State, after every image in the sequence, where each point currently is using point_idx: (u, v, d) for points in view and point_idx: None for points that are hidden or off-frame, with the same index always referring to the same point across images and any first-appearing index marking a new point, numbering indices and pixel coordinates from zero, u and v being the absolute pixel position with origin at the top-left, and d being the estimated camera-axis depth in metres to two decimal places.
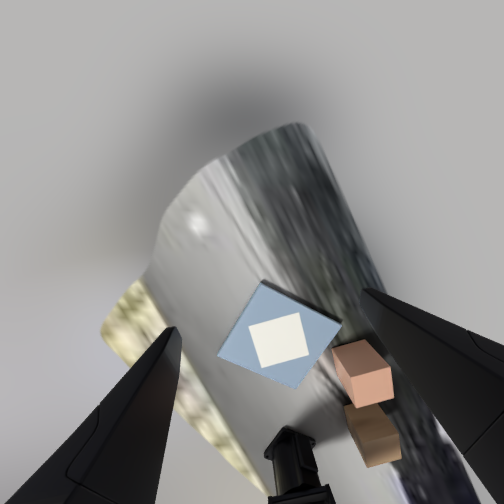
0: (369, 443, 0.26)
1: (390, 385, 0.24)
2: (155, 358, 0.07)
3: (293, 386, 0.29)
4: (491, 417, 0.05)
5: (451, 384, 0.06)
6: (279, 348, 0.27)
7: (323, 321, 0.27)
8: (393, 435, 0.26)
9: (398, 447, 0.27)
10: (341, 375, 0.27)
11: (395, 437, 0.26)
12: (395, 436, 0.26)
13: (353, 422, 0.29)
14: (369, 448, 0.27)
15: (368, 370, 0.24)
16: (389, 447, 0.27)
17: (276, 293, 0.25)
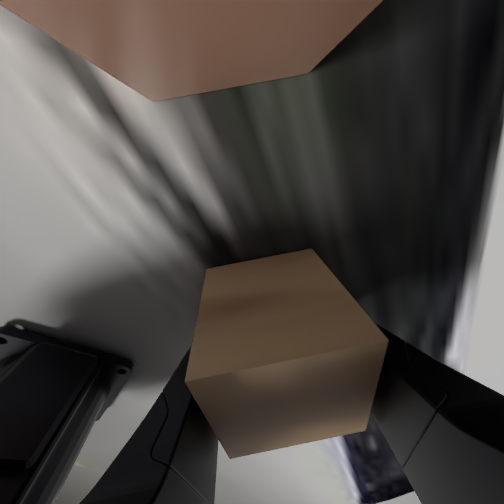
0: (224, 385, 0.05)
1: None
2: None
3: None
4: (418, 432, 0.05)
5: (388, 397, 0.06)
6: None
7: None
8: (361, 350, 0.05)
9: (366, 398, 0.06)
10: None
11: (369, 361, 0.05)
12: (365, 357, 0.05)
13: (204, 305, 0.07)
14: (228, 402, 0.05)
15: None
16: (328, 399, 0.06)
17: None
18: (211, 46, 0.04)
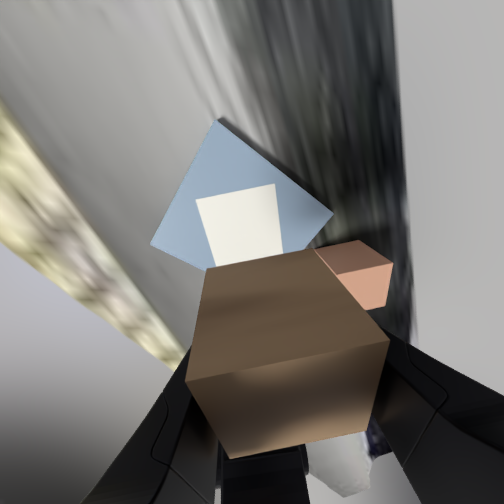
0: (224, 386, 0.05)
1: (385, 289, 0.18)
2: None
3: None
4: (418, 432, 0.05)
5: (388, 397, 0.06)
6: (242, 240, 0.19)
7: (308, 203, 0.18)
8: (363, 350, 0.05)
9: (367, 398, 0.06)
10: None
11: (369, 360, 0.05)
12: (366, 357, 0.05)
13: (204, 305, 0.07)
14: (228, 402, 0.05)
15: (362, 267, 0.17)
16: (329, 399, 0.06)
17: (241, 143, 0.15)
18: None
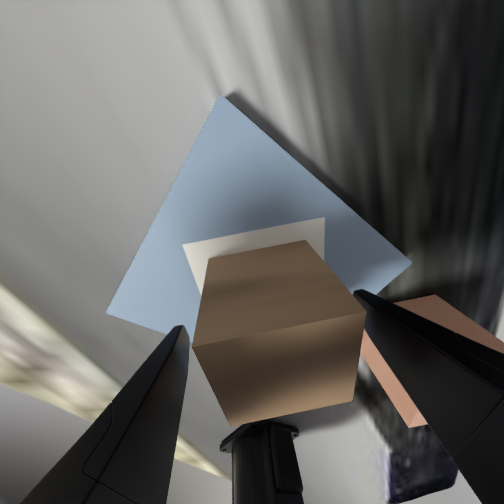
0: (225, 352, 0.06)
1: None
2: (165, 356, 0.07)
3: None
4: (477, 420, 0.05)
5: (439, 386, 0.06)
6: None
7: (375, 248, 0.11)
8: (343, 320, 0.06)
9: (351, 368, 0.07)
10: (378, 359, 0.14)
11: (350, 331, 0.06)
12: (346, 327, 0.06)
13: (207, 288, 0.08)
14: (228, 368, 0.06)
15: None
16: (317, 368, 0.07)
17: (270, 144, 0.08)
18: None
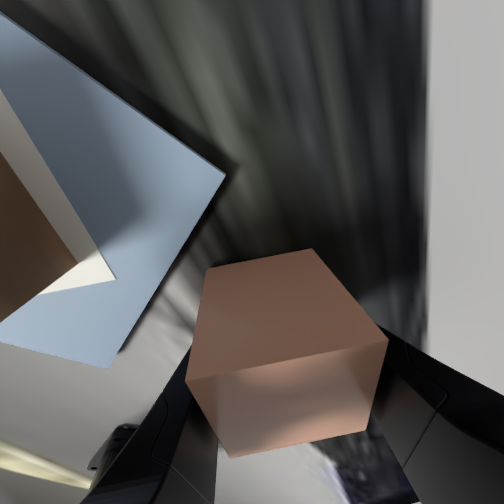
0: None
1: (365, 402, 0.06)
2: None
3: (97, 362, 0.10)
4: (418, 432, 0.05)
5: (388, 397, 0.06)
6: None
7: (137, 140, 0.06)
8: None
9: None
10: None
11: None
12: None
13: None
14: None
15: (282, 349, 0.05)
16: None
17: None
18: None
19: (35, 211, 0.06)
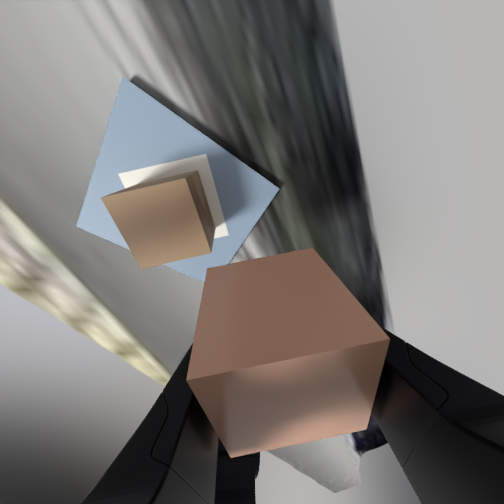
0: (119, 202, 0.11)
1: (366, 401, 0.06)
2: None
3: None
4: (418, 433, 0.05)
5: (388, 397, 0.06)
6: None
7: (249, 177, 0.16)
8: (175, 183, 0.11)
9: (196, 222, 0.12)
10: None
11: (182, 191, 0.11)
12: (179, 189, 0.11)
13: (124, 189, 0.13)
14: (124, 216, 0.12)
15: (283, 348, 0.05)
16: (176, 220, 0.12)
17: (159, 105, 0.14)
18: None
19: (208, 205, 0.17)
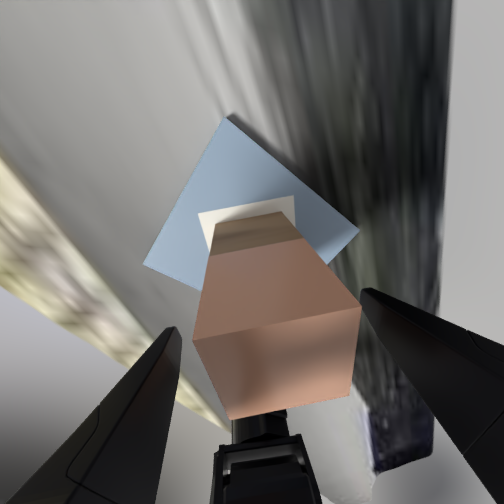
0: None
1: (347, 367, 0.07)
2: (155, 358, 0.07)
3: None
4: (491, 417, 0.05)
5: (451, 384, 0.06)
6: None
7: (331, 219, 0.15)
8: None
9: None
10: None
11: None
12: None
13: (215, 236, 0.12)
14: None
15: (274, 315, 0.06)
16: None
17: (255, 146, 0.12)
18: None
19: None
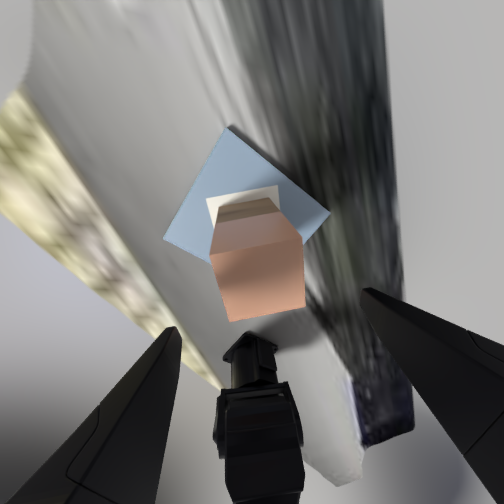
0: None
1: (300, 282, 0.12)
2: (155, 358, 0.07)
3: None
4: (491, 417, 0.05)
5: (451, 384, 0.06)
6: None
7: (308, 203, 0.20)
8: None
9: None
10: None
11: None
12: None
13: (219, 213, 0.17)
14: None
15: (254, 244, 0.11)
16: None
17: (248, 148, 0.17)
18: None
19: None
